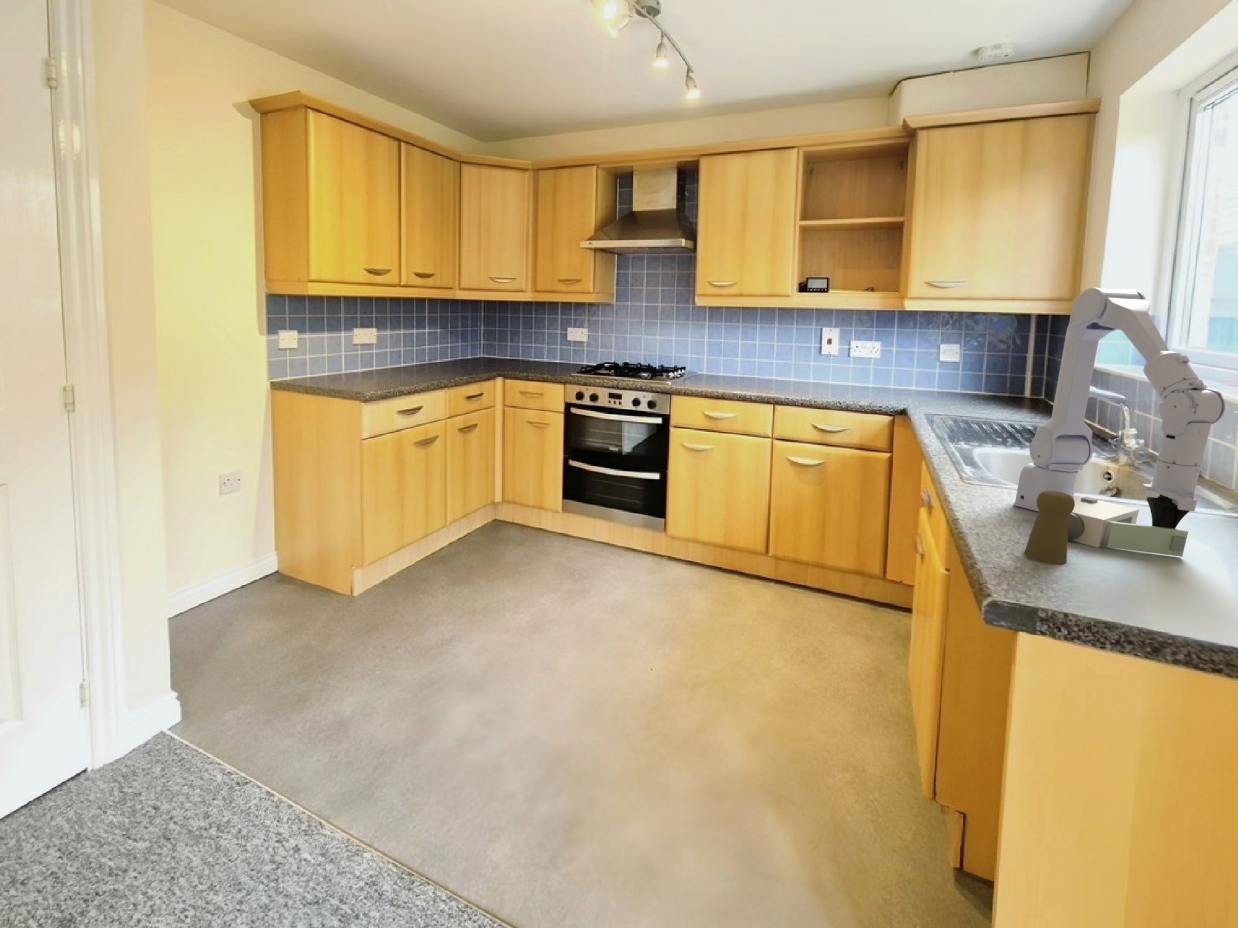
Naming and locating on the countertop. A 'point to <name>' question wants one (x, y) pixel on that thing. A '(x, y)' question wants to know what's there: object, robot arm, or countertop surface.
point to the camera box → (1095, 519)
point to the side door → (1145, 538)
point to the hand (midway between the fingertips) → (1160, 540)
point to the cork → (1050, 528)
